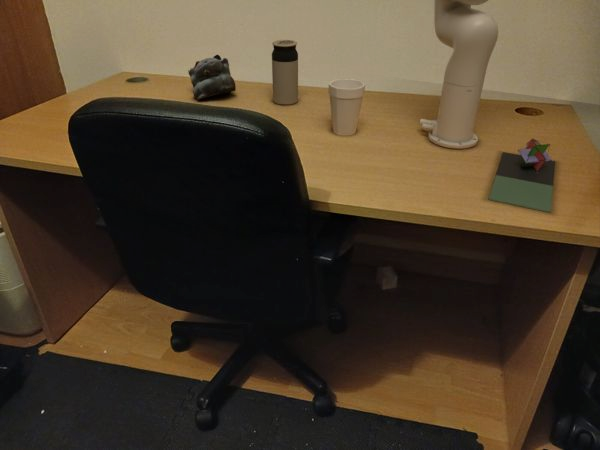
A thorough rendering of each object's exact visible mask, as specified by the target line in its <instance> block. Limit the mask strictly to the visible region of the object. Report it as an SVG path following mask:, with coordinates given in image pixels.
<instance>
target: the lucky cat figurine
mask: <svg viewBox="0 0 600 450" xmlns="http://www.w3.org/2000/svg"><path fill="white" fill-rule="evenodd" d="M187 73H188V75H189V78H190V83H191V84H192V87H193V90H192V94H193V98H194V99H195V100H197V101H201V100H203V99H207V98H209V97H213V96H217V95H222V94H231V93H232V92H236V90H237V88H236V81H235V79H234V78H233V77H232V75H231V69H230V63H229V60H228V58H227V57H223V58H222V57H221V56H220V55H219V54H215V55H213V57H206V58H203V59H202V60H197V61H196V62H195V64H194V65H193V67H190V69H188V70H187Z"/></svg>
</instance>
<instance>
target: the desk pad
mask: <svg viewBox="0 0 600 450" xmlns="http://www.w3.org/2000/svg"><path fill="white" fill-rule="evenodd" d="M519 160H520V161H519ZM521 161H522V162H521ZM523 161H524V159H523V158H522V156H521V154H517V153H512V152H511V153H510V152H505V151H502V153H501V157H500V161H499V163H498V166H497V170H496V173H495V177H494V180H493V183H492V185H491V186H492V187H491V190H490V193H489V196H488V199H487V200H489V201H491V202H498V203H502V204H507V205H511V206H516V207H520V208H525V209H529V210H535V211H539V212H544V213H549V214H551V213H552V207H553V206H552V205H553V204H552V203H553V193H554V180H555V169H556V160H552V161H549V162H550V163H549V162H548V161H545V163H544V164H543V165H542V166H541V168H540V169H539V171H538V172H536V171H535V170H536V169H535V168H534V166H533V165H527V166H520V165H521V164H522V163H523ZM530 166H531V167H532V168H531V167H530ZM544 166H545V167H544ZM524 167H525V168H524ZM527 168H528V169H527Z"/></svg>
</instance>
